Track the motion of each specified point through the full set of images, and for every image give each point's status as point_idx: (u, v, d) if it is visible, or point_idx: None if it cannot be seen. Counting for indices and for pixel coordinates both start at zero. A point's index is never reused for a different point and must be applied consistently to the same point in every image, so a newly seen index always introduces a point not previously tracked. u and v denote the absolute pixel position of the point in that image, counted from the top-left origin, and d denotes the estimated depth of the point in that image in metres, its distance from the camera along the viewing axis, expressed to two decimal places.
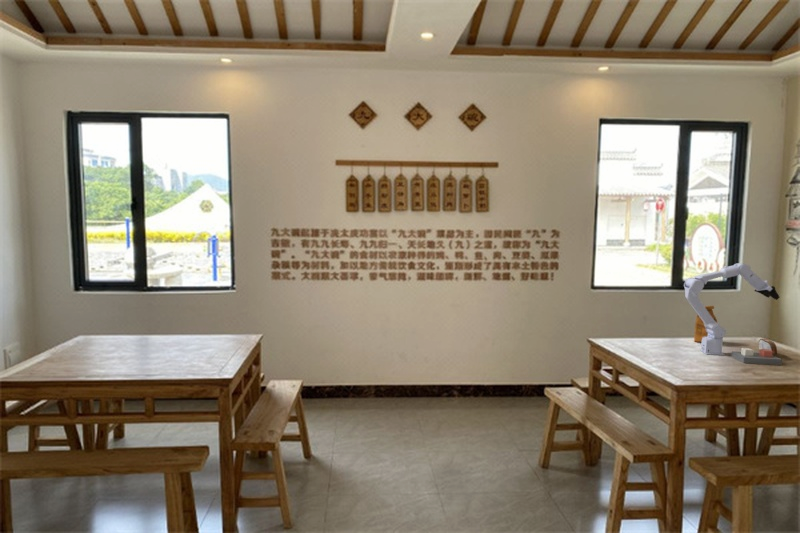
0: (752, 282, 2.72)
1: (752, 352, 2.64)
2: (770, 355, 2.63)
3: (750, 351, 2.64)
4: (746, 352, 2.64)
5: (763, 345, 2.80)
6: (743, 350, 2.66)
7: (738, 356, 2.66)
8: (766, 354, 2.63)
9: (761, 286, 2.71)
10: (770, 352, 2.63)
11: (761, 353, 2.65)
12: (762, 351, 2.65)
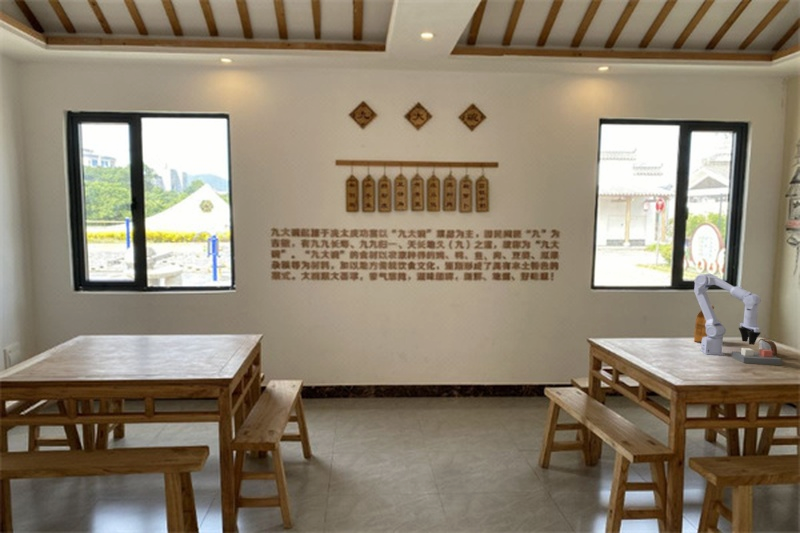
0: (744, 315, 2.65)
1: (752, 352, 2.64)
2: (770, 355, 2.63)
3: (750, 351, 2.64)
4: (746, 352, 2.64)
5: (763, 345, 2.80)
6: (743, 350, 2.66)
7: (738, 356, 2.66)
8: (766, 354, 2.63)
9: (751, 325, 2.62)
10: (770, 352, 2.63)
11: (761, 353, 2.65)
12: (762, 351, 2.65)
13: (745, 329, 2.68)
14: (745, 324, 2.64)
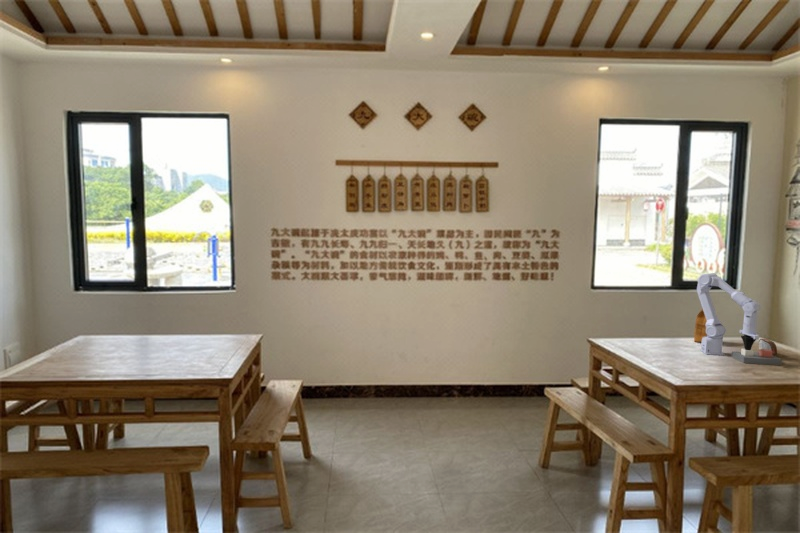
0: (743, 322, 2.65)
1: (752, 353, 2.64)
2: (770, 355, 2.63)
3: (750, 352, 2.64)
4: (746, 353, 2.64)
5: (763, 345, 2.80)
6: (743, 351, 2.66)
7: (738, 356, 2.66)
8: (766, 354, 2.63)
9: (750, 332, 2.62)
10: (770, 352, 2.63)
11: (761, 353, 2.65)
12: (762, 351, 2.65)
13: None
14: (744, 331, 2.64)
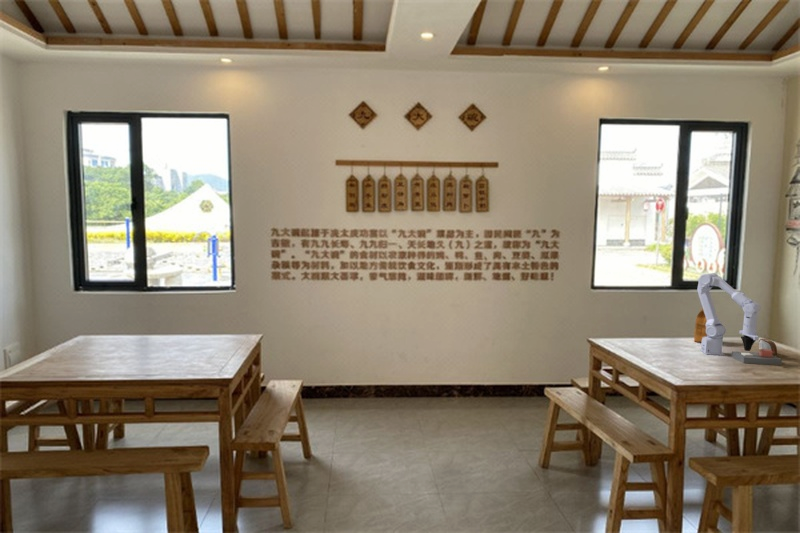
0: (743, 323, 2.65)
1: None
2: (770, 355, 2.63)
3: None
4: None
5: (763, 345, 2.80)
6: None
7: (738, 356, 2.66)
8: (766, 354, 2.63)
9: (750, 333, 2.62)
10: (770, 352, 2.63)
11: (761, 353, 2.65)
12: (762, 351, 2.65)
13: None
14: (744, 332, 2.64)
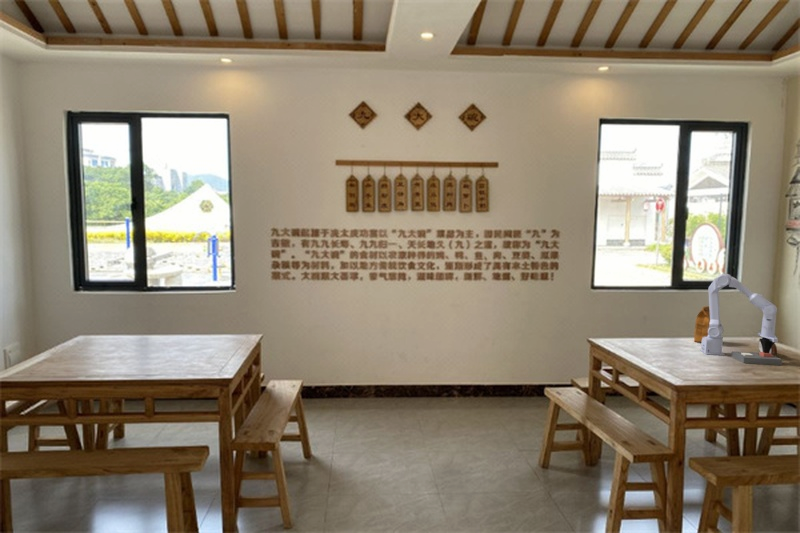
0: (763, 325, 2.63)
1: None
2: None
3: None
4: None
5: None
6: None
7: (738, 356, 2.66)
8: None
9: (769, 335, 2.61)
10: (770, 355, 2.63)
11: None
12: (762, 354, 2.65)
13: None
14: (763, 334, 2.63)
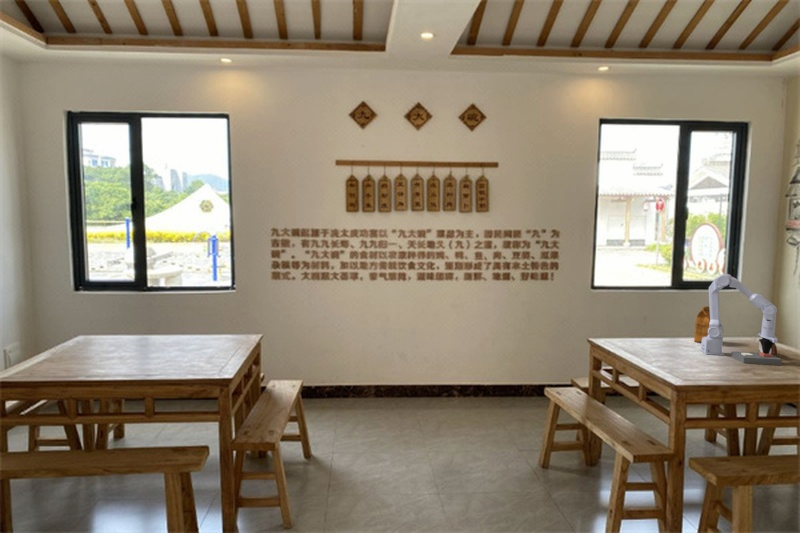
0: (763, 326, 2.63)
1: None
2: None
3: None
4: None
5: None
6: None
7: (738, 356, 2.66)
8: None
9: (769, 335, 2.61)
10: (770, 355, 2.63)
11: None
12: (762, 354, 2.65)
13: None
14: (763, 334, 2.63)
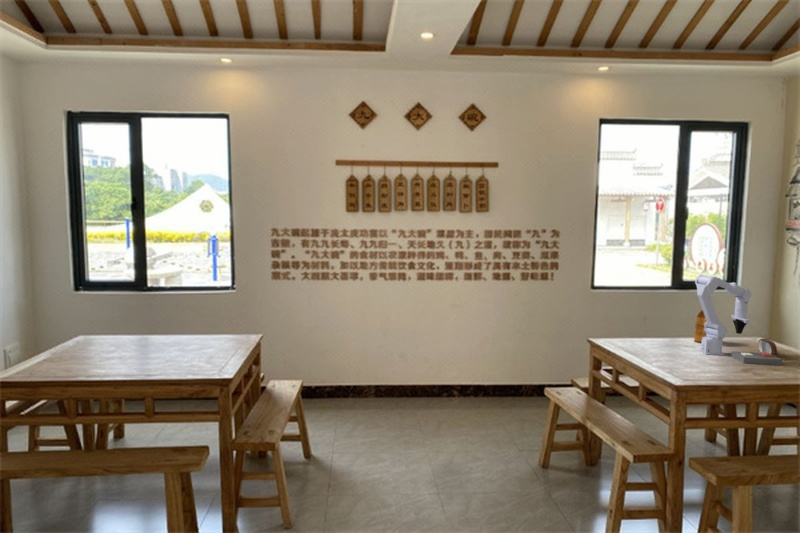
0: (741, 308, 2.79)
1: None
2: None
3: None
4: None
5: (763, 345, 2.80)
6: None
7: (738, 356, 2.66)
8: None
9: (741, 316, 2.80)
10: (770, 355, 2.63)
11: None
12: (762, 354, 2.65)
13: None
14: (736, 316, 2.82)
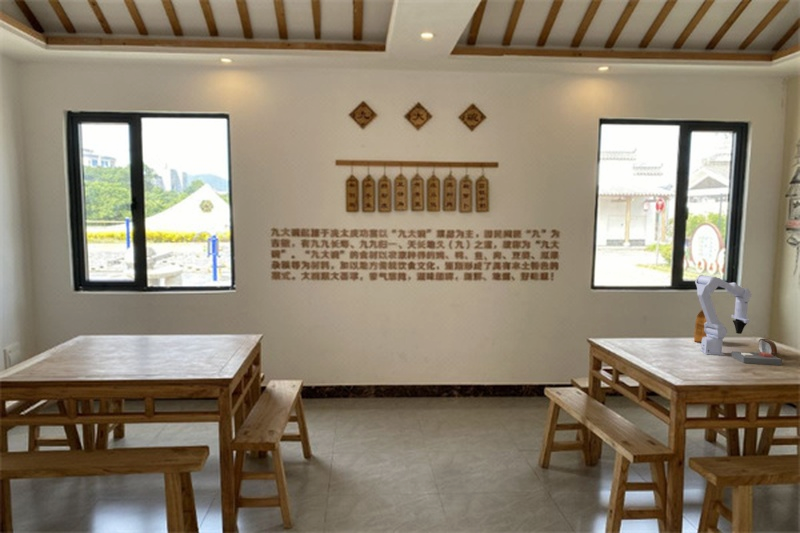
0: (741, 308, 2.79)
1: None
2: None
3: None
4: None
5: (763, 345, 2.80)
6: None
7: (738, 356, 2.66)
8: None
9: (741, 316, 2.80)
10: (770, 355, 2.63)
11: None
12: (762, 354, 2.65)
13: None
14: (736, 316, 2.82)
